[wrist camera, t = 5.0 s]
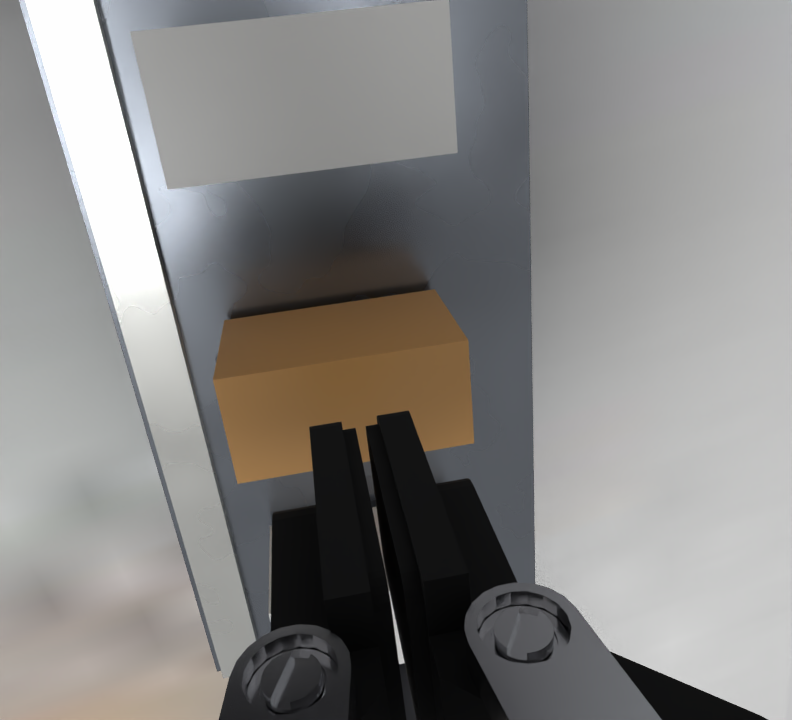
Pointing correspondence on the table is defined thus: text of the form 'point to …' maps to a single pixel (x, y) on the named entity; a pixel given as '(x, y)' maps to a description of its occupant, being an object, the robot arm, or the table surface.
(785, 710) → the table surface
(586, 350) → the table surface
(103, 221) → the breaker panel
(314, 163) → the paddle
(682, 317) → the table surface
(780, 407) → the table surface
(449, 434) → the block
